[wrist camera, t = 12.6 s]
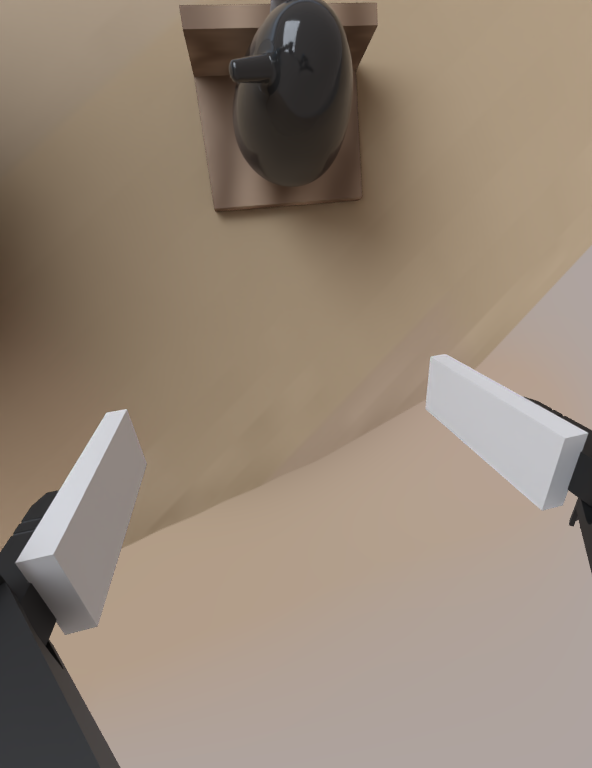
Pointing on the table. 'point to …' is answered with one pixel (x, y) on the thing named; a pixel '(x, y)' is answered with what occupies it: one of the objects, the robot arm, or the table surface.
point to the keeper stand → (215, 99)
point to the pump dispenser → (293, 93)
